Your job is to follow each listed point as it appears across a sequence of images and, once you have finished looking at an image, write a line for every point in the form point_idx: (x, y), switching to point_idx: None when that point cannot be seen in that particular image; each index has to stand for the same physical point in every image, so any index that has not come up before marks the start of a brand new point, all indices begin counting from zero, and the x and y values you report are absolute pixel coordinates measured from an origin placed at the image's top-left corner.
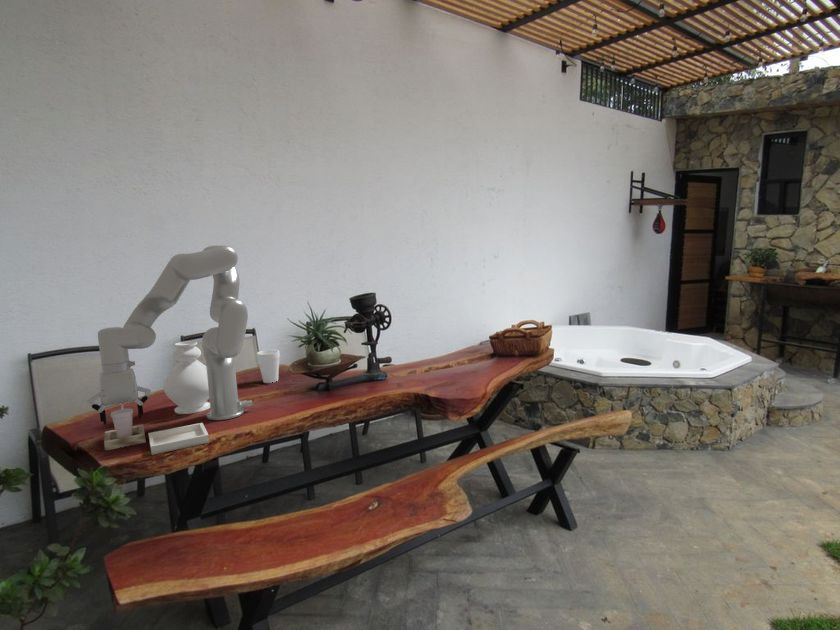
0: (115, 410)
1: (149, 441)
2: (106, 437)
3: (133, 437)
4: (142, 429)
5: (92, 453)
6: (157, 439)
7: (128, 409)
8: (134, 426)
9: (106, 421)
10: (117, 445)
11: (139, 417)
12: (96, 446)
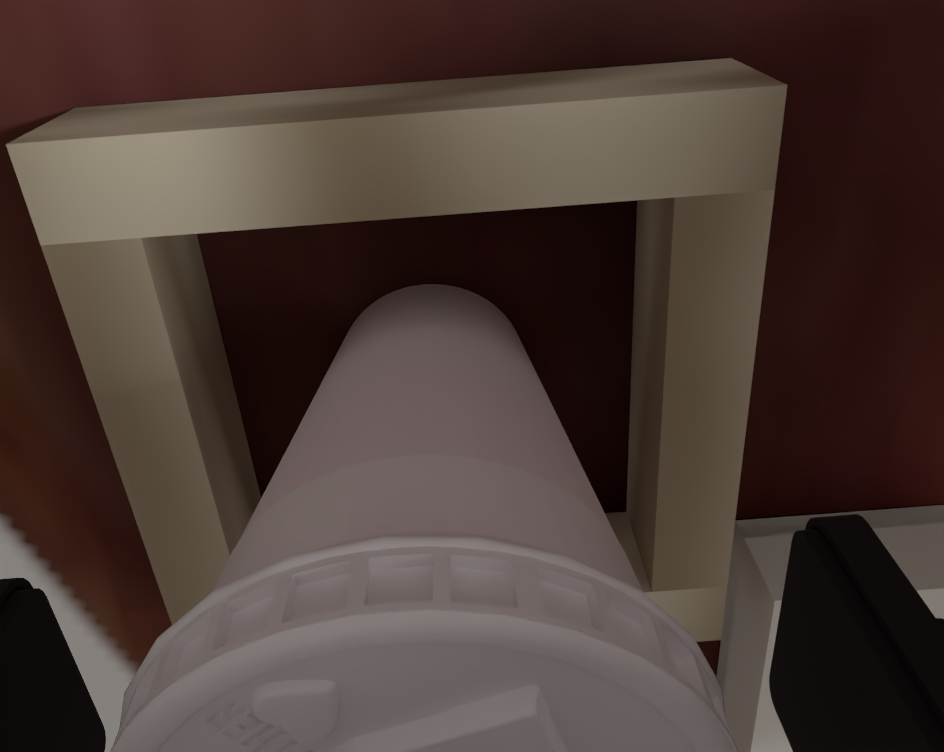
0: (191, 703)
1: (733, 626)
2: (159, 497)
3: None
4: (723, 405)
5: (81, 606)
6: None
7: (619, 738)
8: (602, 128)
9: (49, 618)
10: None
11: (786, 700)
12: (38, 394)
